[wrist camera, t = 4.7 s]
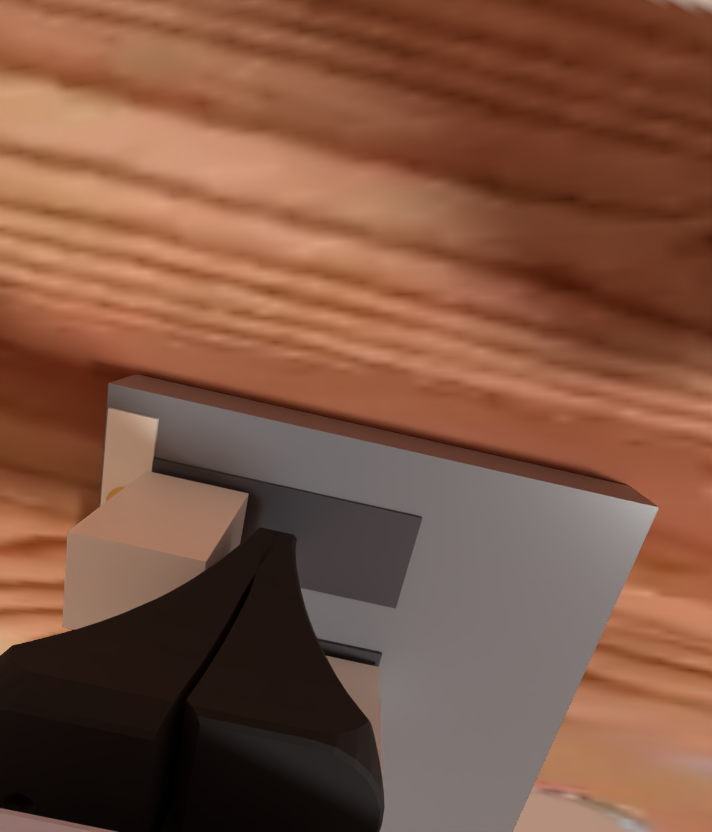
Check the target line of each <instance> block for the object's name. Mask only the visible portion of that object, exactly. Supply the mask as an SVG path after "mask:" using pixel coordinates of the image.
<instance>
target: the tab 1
mask: <svg viewBox="0 0 712 832" xmlns="http://www.w3.org/2000/svg"><path fill="white" fill-rule="evenodd" d="M248 496H249V493H244V492H240V491H235V490H231V489H226V488H222V487H217V486H213V485H208V484H204V483H199V482H195V481H190V480H186V479H181V478H177V477H172V476H168V475H163V474H159V473H154V472H150V471H146V472H144V473H143V474H142V475H140V476H139V477H138V478H136V479H135V480H134V481H133V482H131V483H130V484H129V485H127V486H126V487H125V488H123V489H122V490H121V491H120V492H118V493H117V494H116V495H114V496H113V497H112V498H110V499H109V500H108V501H107V502H105V503H104V504H103V505H101V506H100V507H99V508H97V509H96V510H95V511H94V512H92V513H91V514H90V515H88V516H87V517H86V518H84V519H83V520H82V521H81V522H79V523H78V524H77V525H75V526H74V527H73V528H71V529H70V530H69V531H68V533H67V550H66V568H65V586H64V603H63V621H62V627H63V628H68V629H73V630H75V629H79V628H82V627H85V626H88V625H91V624H94V623H97V622H100V621H103V620H106V619H109V618H111V617H114V616H117V615H120V614H122V613H125V612H127V611H129V610H132V609H134V608H136V607H138V606H141V605H143V604H145V603H148V602H150V601H152V600H155V599H157V598H159V597H161V596H163V595H165V594H167V593H169V592H170V591H172V590H174V589H176V588H178V587H179V586H181V585H183V584H185V583H186V582H188V581H190V580H191V579H193V578H194V577H196V576H197V575H199V574H200V573H202V572H203V571H205V570H206V569H208V568H209V567H211V566H212V565H214V564H215V563H217V562H218V561H219V560H221V559H222V558H223V557H224V556H226V555H227V554H228V553H230V552H231V551H232V550H234V549H235V548H236V547H237V546H239V545H240V541H241V536H242V530H243V524H244V519H245V513H246V507H247V502H248Z"/></svg>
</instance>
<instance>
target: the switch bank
mask: <svg viewBox="0 0 712 832" xmlns="http://www.w3.org/2000/svg"><path fill="white" fill-rule="evenodd" d="M146 471H150V472H154V473H159V474H163V475H168V476H172V477H177V478H181V479H186V480H190V481H195V482H199V483H204V484H208V485H213V486H217V487H222V488H226V489H231V490H235V491H240V492H244V493H249V496H248V502H247V507H246V513H245V519H244V524H243V530H242V536H241V541H240V544H241V543H242V542H243V541H245V540H246V539H247V538H248V537H249V536H250V535H251V534H253V533H254V532H255V531H256V530H257V529H259V528H261V527H262V528H266V529H271V530H275V531H280V532H284V533H289V534H293V535H295V537H296V538H297V543H296V565H297V572H298V578H299V583H300V588H301V592H302V596H303V600H304V604H305V607H306V610H307V613H308V616H309V619H310V622H311V624H312V627H313V630H314V632H315V634H316V637H317V639H318V641H319V643H320V646H321V648H322V650H323V652H324V654H325V655H326V656H330V657H335V658H339V659H344V660H349V661H353V662H358V663H363V664H367V665H372V666H377V667H380V707H381V757H382V780H383V788H384V805H385V808H384V815H383V821H382V826H381V829H380V832H513V830H514V828H515V825H516V823H517V821H518V819H519V817H520V814H521V812H522V810H523V808H524V805H525V803H526V801H527V799H528V797H529V794H530V792H531V790H532V788H533V786H534V783H535V781H536V779H537V777H538V775H539V772H540V770H541V768H542V766H543V763H544V761H545V759H546V757H547V755H548V752H549V750H550V748H551V746H552V743H553V741H554V739H555V737H556V735H557V732H558V730H559V728H560V726H561V724H562V721H563V719H564V717H565V715H566V712H567V710H568V708H569V706H570V704H571V701H572V699H573V697H574V695H575V692H576V690H577V688H578V686H579V684H580V681H581V679H582V677H583V675H584V673H585V670H586V668H587V666H588V664H589V661H590V659H591V657H592V655H593V653H594V650H595V648H596V646H597V644H598V642H599V639H600V637H601V635H602V633H603V630H604V628H605V626H606V624H607V622H608V619H609V617H610V615H611V613H612V610H613V608H614V606H615V604H616V602H617V599H618V597H619V595H620V593H621V591H622V588H623V586H624V584H625V582H626V579H627V577H628V575H629V573H630V571H631V568H632V566H633V564H634V562H635V559H636V557H637V555H638V553H639V551H640V548H641V546H642V544H643V542H644V540H645V537H646V535H647V533H648V531H649V528H650V526H651V524H652V522H653V520H654V517H655V515H656V513H657V511H658V508H659V507H658V506H656V505H655V504H654V503H652V502H651V501H649V500H648V499H647V498H645V497H644V496H643V495H641V494H640V493H639V492H637V491H636V490H634V489H633V488H632V487H630V486H628V485H623V484H619V483H615V482H610V481H606V480H601V479H597V478H593V477H588V476H584V475H579V474H575V473H571V472H566V471H562V470H557V469H553V468H549V467H544V466H540V465H535V464H531V463H526V462H522V461H518V460H513V459H509V458H504V457H500V456H496V455H491V454H487V453H482V452H478V451H474V450H469V449H465V448H460V447H456V446H452V445H447V444H443V443H438V442H434V441H430V440H425V439H421V438H416V437H412V436H408V435H403V434H399V433H394V432H390V431H385V430H381V429H377V428H372V427H368V426H363V425H359V424H355V423H350V422H346V421H341V420H337V419H333V418H328V417H324V416H319V415H315V414H311V413H306V412H302V411H297V410H293V409H289V408H284V407H280V406H275V405H271V404H267V403H262V402H258V401H253V400H249V399H244V398H240V397H236V396H231V395H227V394H222V393H218V392H214V391H209V390H205V389H200V388H196V387H192V386H187V385H183V384H178V383H174V382H170V381H165V380H161V379H156V378H152V377H148V376H143V375H139V374H134V375H131V376H128V377H125V378H122V379H119V380H116V381H113V382H110V383H108V395H107V408H106V421H105V434H104V447H103V460H102V473H101V486H100V500H99V507H100V506H101V505H103V504H104V503H105V502H107V501H108V500H109V499H110V498H112V497H113V496H114V495H116V494H117V493H118V492H120V491H121V490H122V489H123V488H125V487H126V486H127V485H129V484H130V483H131V482H133V481H134V480H135V479H136V478H138V477H139V476H140V475H142V474H143V473H144V472H146Z"/></svg>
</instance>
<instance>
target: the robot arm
mask: <svg viewBox="0 0 712 832" xmlns="http://www.w3.org/2000/svg"><path fill="white" fill-rule="evenodd" d="M296 543H297V538H296V537H295V535H293V534H289V533H284V532H280V531H275V530H271V529H266V528H262V527H261V528H259V529H257V530H256V531H255V532H254V533H253V534H251V535H250V536H249V537H248V538H247V539H246V540H245V541H243V542H242V543H241V544H240V545H239V546H237V547H236V548H235V549H234V550H232V551H231V552H230V553H228V554H227V555H226V556H224V557H223V558H222V559H221V560H219V561H218V562H217V563H215V564H214V565H212V566H211V567H209V568H208V569H206V570H205V571H203V572H202V573H200V574H199V575H197V576H196V577H194V578H193V579H191V580H190V581H188V582H186V583H185V584H183V585H181V586H179V587H178V588H176V589H174V590H172V591H170V592H169V593H167V594H165V595H163V596H161V597H159V598H157V599H155V600H152V601H150V602H148V603H145V604H143V605H141V606H138V607H136V608H134V609H132V610H129V611H127V612H125V613H122V614H120V615H117V616H114V617H111V618H109V619H106V620H103V621H100V622H97V623H94V624H91V625H88V626H85V627H82V628H79V629H75V630H72V631H69V632H65V633H61V634H57V635H53V636H50V637H46V638H42V639H38V640H34V641H30V642H26V643H22V644H17V645H13V646H11V647H10V648H9V649H8V650H7V651H5V652H4V653H3V654H2V655H1V656H0V832H380V829H381V826H382V821H383V815H384V808H385V805H384V788H383V780H382V772H381V765H380V760H379V755H378V750H377V745H376V741H375V736H374V732H373V728H372V724H371V722H370V721H369V719H368V718H367V717H366V716H365V714H364V713H363V712H362V711H361V709H360V708H359V707H358V706H357V704H356V703H355V702H354V700H353V699H352V698H351V697H350V695H349V694H348V693H347V691H346V690H345V688H344V686H343V685H342V683H341V682H340V680H339V679H338V677H337V676H336V674H335V672H334V670H333V668H332V666H331V665H330V663H329V661H328V659H327V657H326V655H325V654H324V652H323V650H322V648H321V646H320V643H319V641H318V639H317V637H316V634H315V632H314V630H313V627H312V624H311V622H310V619H309V616H308V613H307V610H306V607H305V604H304V600H303V596H302V592H301V588H300V583H299V578H298V572H297V565H296Z"/></svg>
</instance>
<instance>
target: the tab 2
mask: <svg viewBox="0 0 712 832" xmlns="http://www.w3.org/2000/svg"><path fill="white" fill-rule="evenodd" d="M326 657H327V659H328V661H329V663H330V665H331V666H332V668H333V670H334V672H335V674H336V676H337V677H338V679H339V680H340V682H341V683H342V685H343V686H344V688H345V690H346V691H347V693H348V694H349V695H350V697H351V698H352V699H353V700H354V702H355V703H356V704H357V706H358V707H359V708H360V709H361V711H362V712H363V713H364V714H365V716H366V717H367V718H368V719H369V721H370V722H371V724H372V728H373V732H374V736H375V741H376V745H377V750H378V755H379V760H380V765H381V772H382V757H381V707H380V667H377V666H372V665H367V664H363V663H358V662H353V661H349V660H344V659H339V658H335V657H330V656H326Z"/></svg>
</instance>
